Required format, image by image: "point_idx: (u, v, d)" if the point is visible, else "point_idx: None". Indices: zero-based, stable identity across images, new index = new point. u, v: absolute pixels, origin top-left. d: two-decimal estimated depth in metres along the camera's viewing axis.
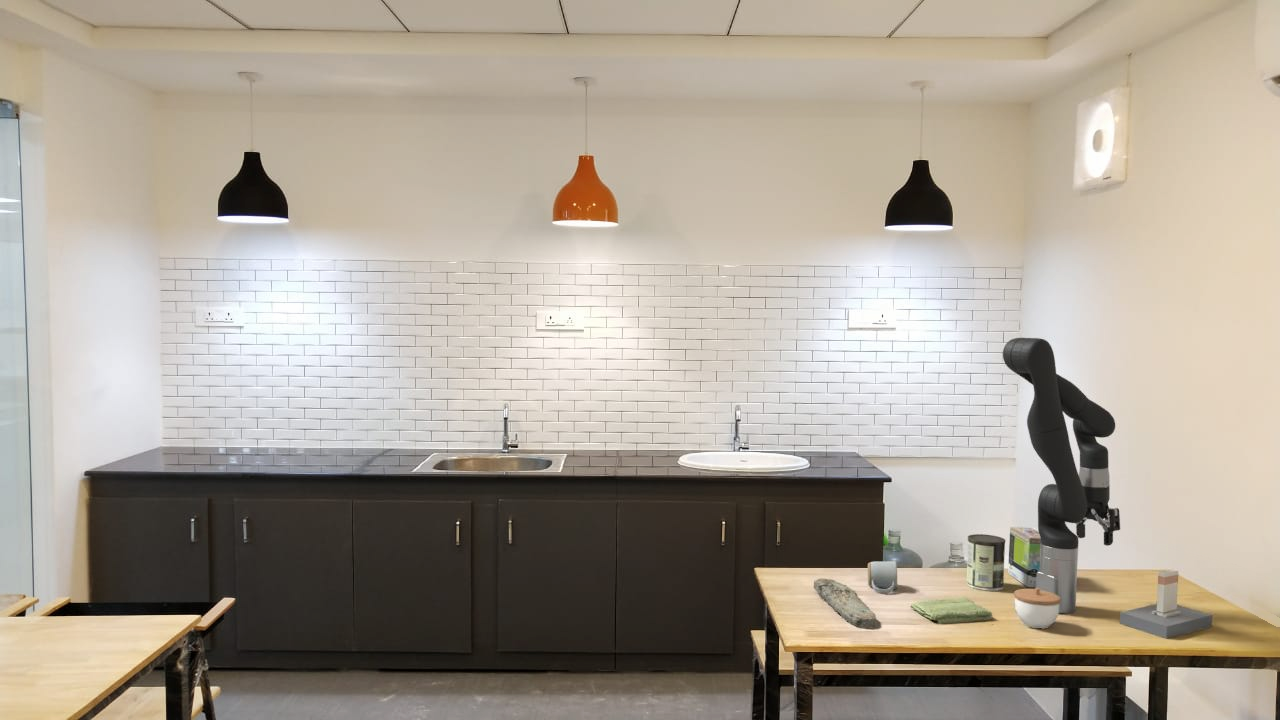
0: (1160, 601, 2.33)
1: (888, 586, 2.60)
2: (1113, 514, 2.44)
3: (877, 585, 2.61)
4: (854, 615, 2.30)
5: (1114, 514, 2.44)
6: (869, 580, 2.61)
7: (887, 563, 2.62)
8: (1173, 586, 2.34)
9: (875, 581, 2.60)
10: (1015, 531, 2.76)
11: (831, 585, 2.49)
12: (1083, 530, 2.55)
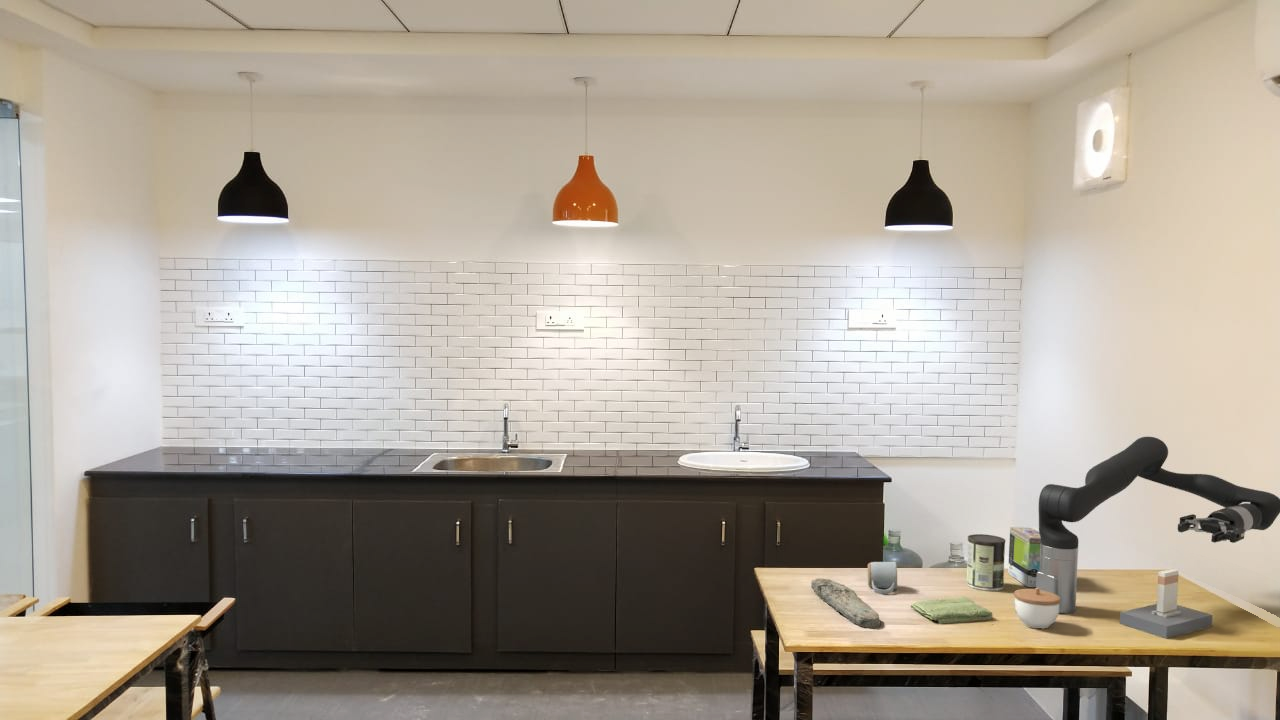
0: (1160, 601, 2.33)
1: (888, 587, 2.60)
2: None
3: (877, 586, 2.61)
4: (858, 615, 2.30)
5: None
6: (869, 581, 2.61)
7: (887, 563, 2.61)
8: (1173, 586, 2.34)
9: (875, 582, 2.60)
10: (1015, 531, 2.76)
11: (830, 585, 2.49)
12: None
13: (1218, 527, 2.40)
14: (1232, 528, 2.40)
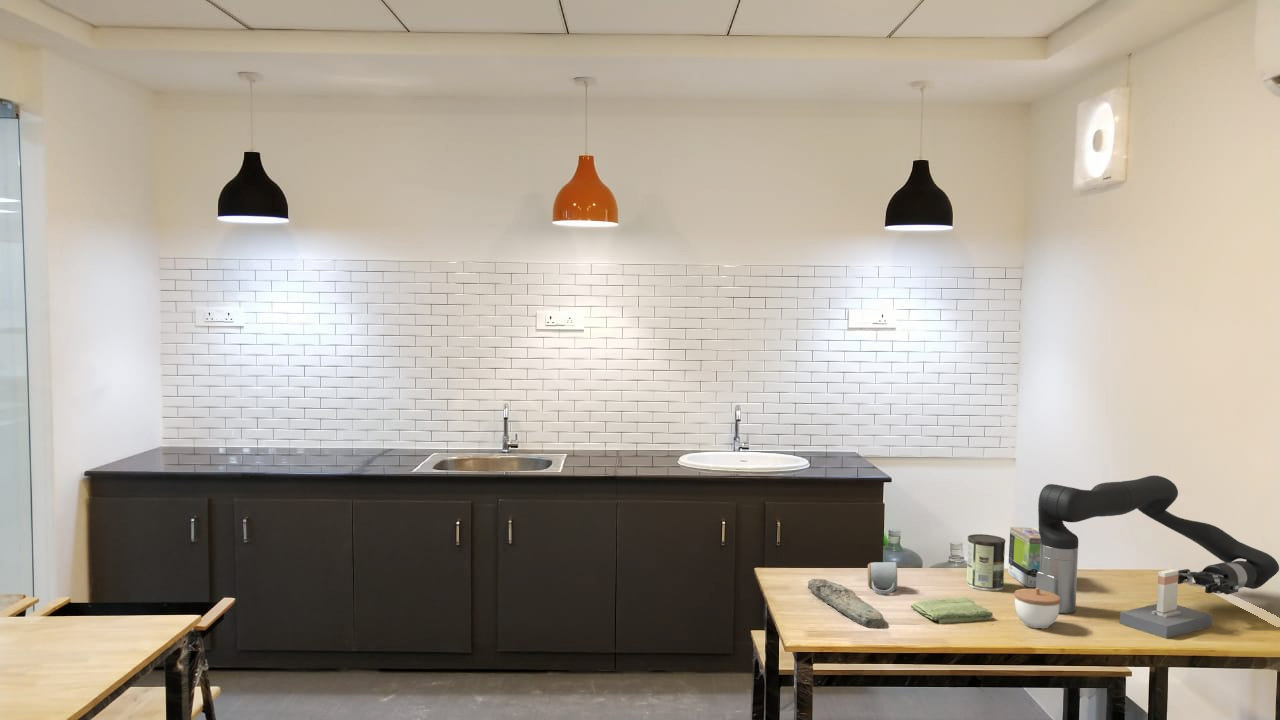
0: (1160, 601, 2.33)
1: (888, 587, 2.59)
2: None
3: (877, 586, 2.60)
4: (863, 615, 2.30)
5: None
6: (869, 581, 2.60)
7: (887, 564, 2.61)
8: (1173, 586, 2.34)
9: (875, 582, 2.59)
10: (1015, 531, 2.76)
11: (829, 585, 2.49)
12: None
13: (1212, 580, 2.41)
14: (1226, 581, 2.40)
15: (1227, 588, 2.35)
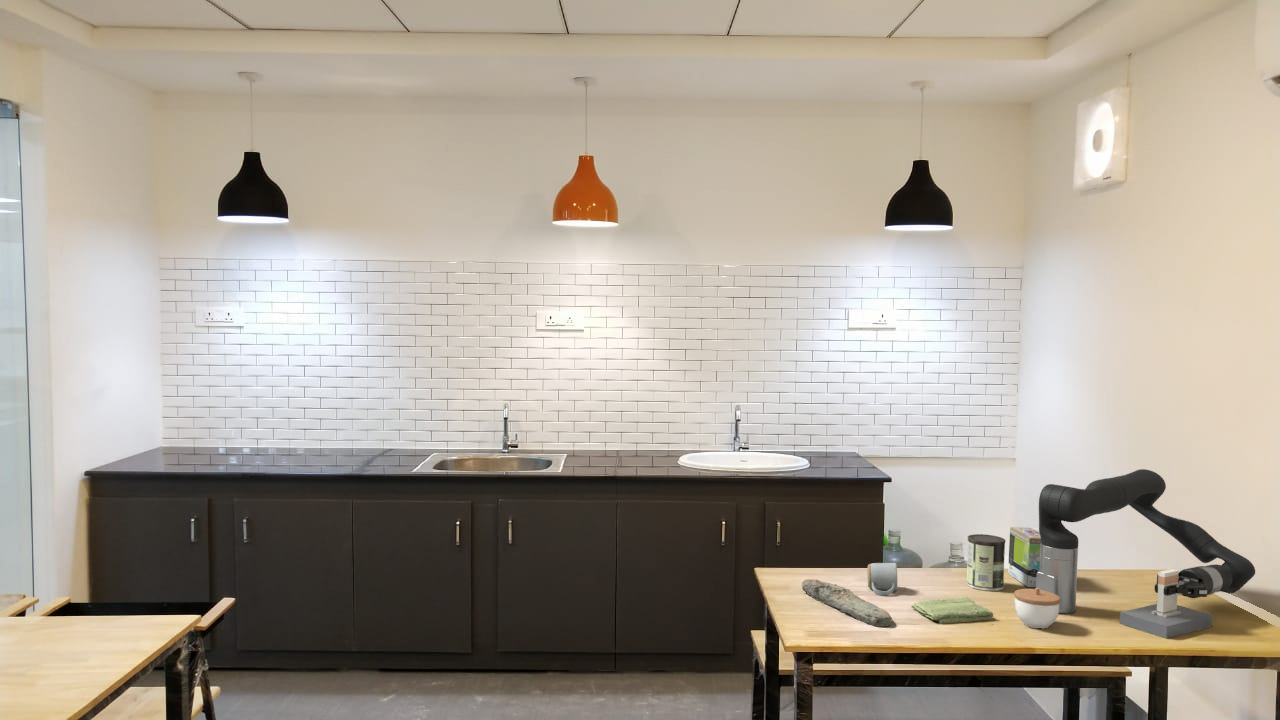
0: (1160, 601, 2.33)
1: (888, 588, 2.59)
2: None
3: (877, 587, 2.59)
4: (872, 615, 2.30)
5: None
6: (869, 582, 2.59)
7: (887, 565, 2.60)
8: None
9: (875, 583, 2.59)
10: (1015, 531, 2.76)
11: (828, 586, 2.48)
12: None
13: None
14: (1198, 586, 2.35)
15: (1184, 590, 2.32)
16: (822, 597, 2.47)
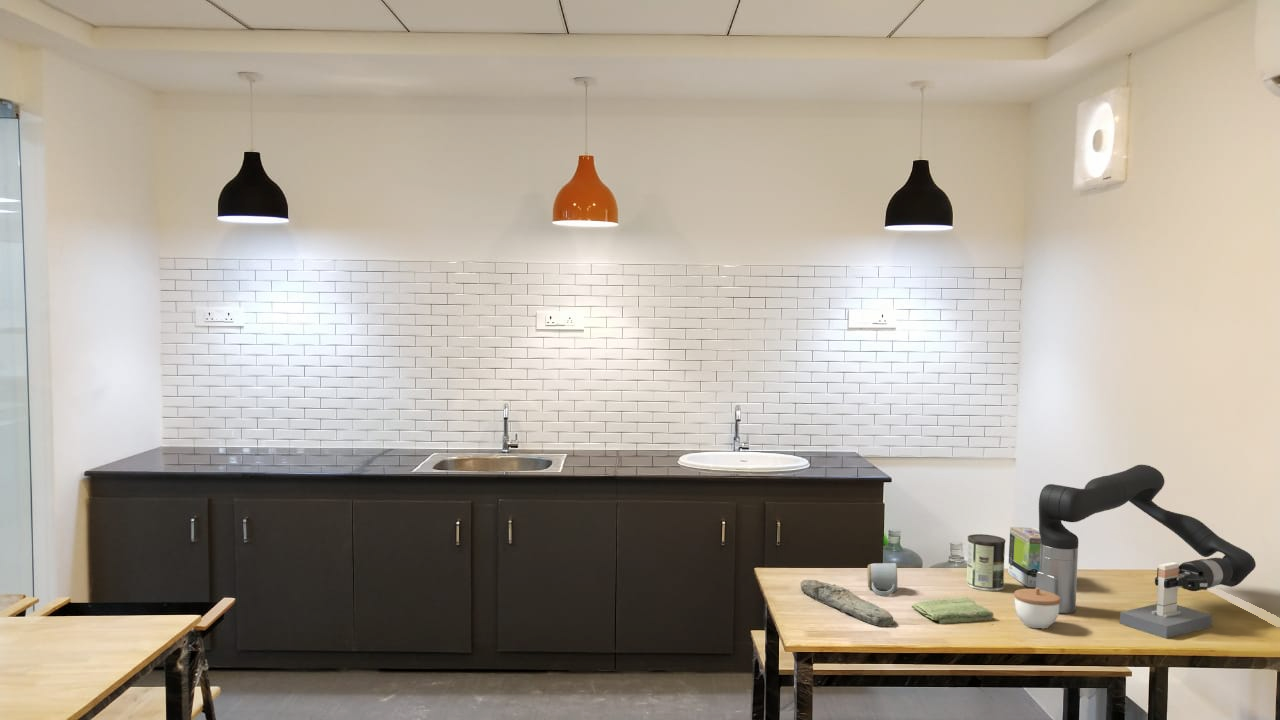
0: (1160, 594, 2.33)
1: (888, 588, 2.58)
2: None
3: (877, 587, 2.59)
4: (874, 614, 2.31)
5: None
6: (869, 582, 2.59)
7: (887, 565, 2.60)
8: None
9: (875, 583, 2.58)
10: (1015, 531, 2.76)
11: (827, 586, 2.48)
12: None
13: None
14: (1198, 578, 2.35)
15: (1184, 583, 2.32)
16: (822, 597, 2.46)
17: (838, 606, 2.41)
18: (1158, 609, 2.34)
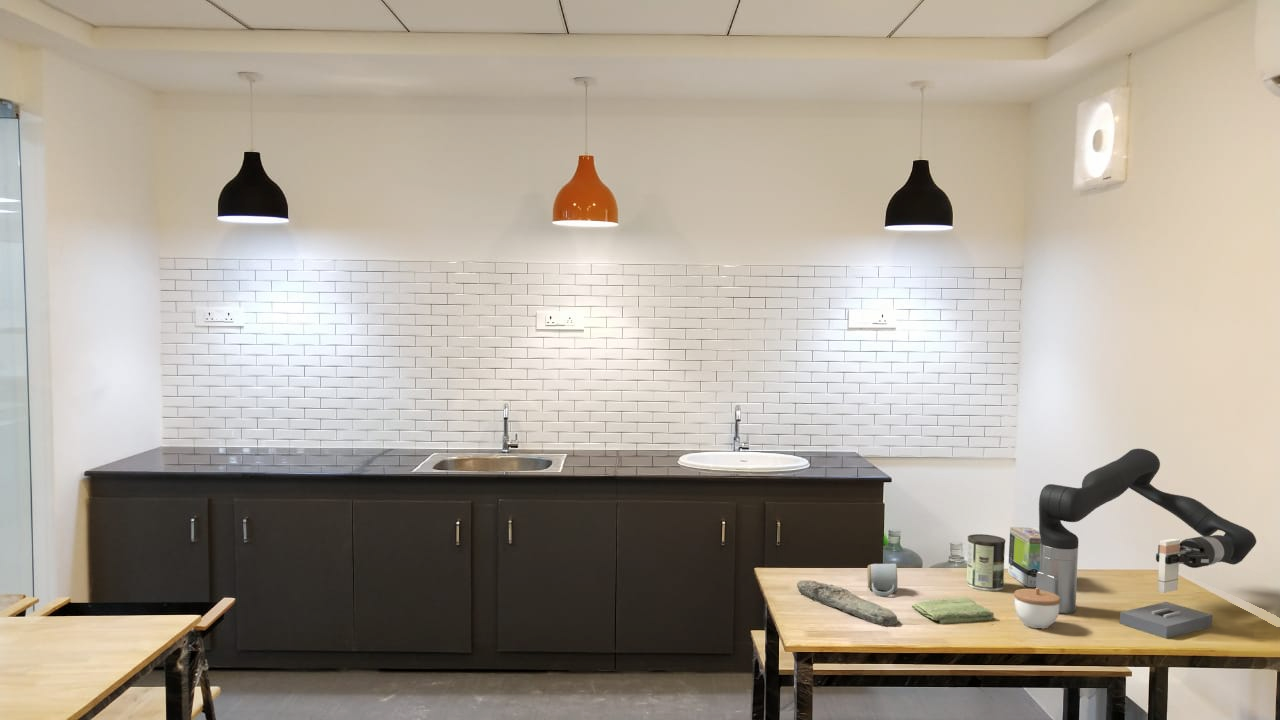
0: (1161, 570, 2.33)
1: (888, 589, 2.58)
2: None
3: (877, 588, 2.58)
4: (878, 614, 2.31)
5: None
6: (869, 583, 2.59)
7: (887, 565, 2.59)
8: None
9: (875, 584, 2.58)
10: (1015, 531, 2.76)
11: (827, 586, 2.48)
12: None
13: None
14: (1199, 555, 2.34)
15: (1186, 559, 2.32)
16: (822, 598, 2.46)
17: (840, 606, 2.41)
18: (1159, 585, 2.33)
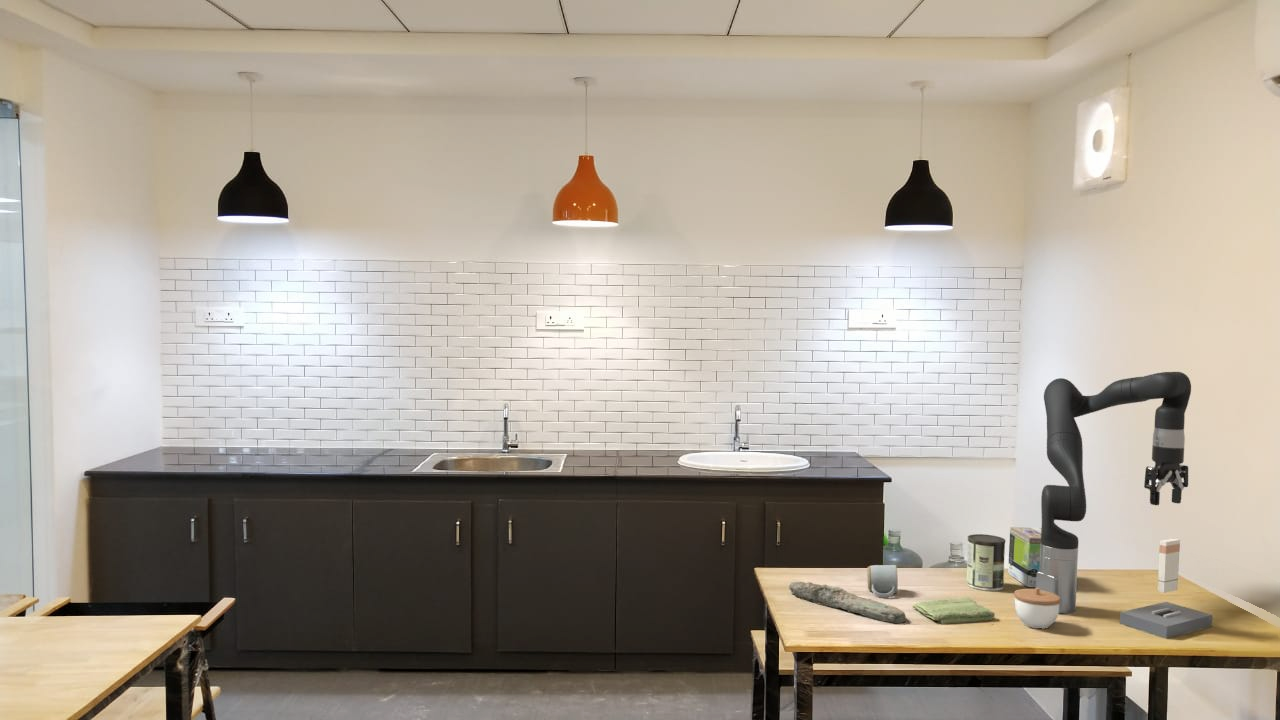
0: (1161, 570, 2.33)
1: (888, 590, 2.56)
2: None
3: (877, 589, 2.57)
4: (889, 612, 2.33)
5: None
6: (869, 584, 2.57)
7: (887, 567, 2.58)
8: (1174, 555, 2.34)
9: (875, 585, 2.56)
10: (1015, 531, 2.76)
11: (826, 587, 2.47)
12: None
13: None
14: None
15: (1147, 488, 2.48)
16: (823, 599, 2.45)
17: (845, 607, 2.40)
18: (1159, 585, 2.33)
